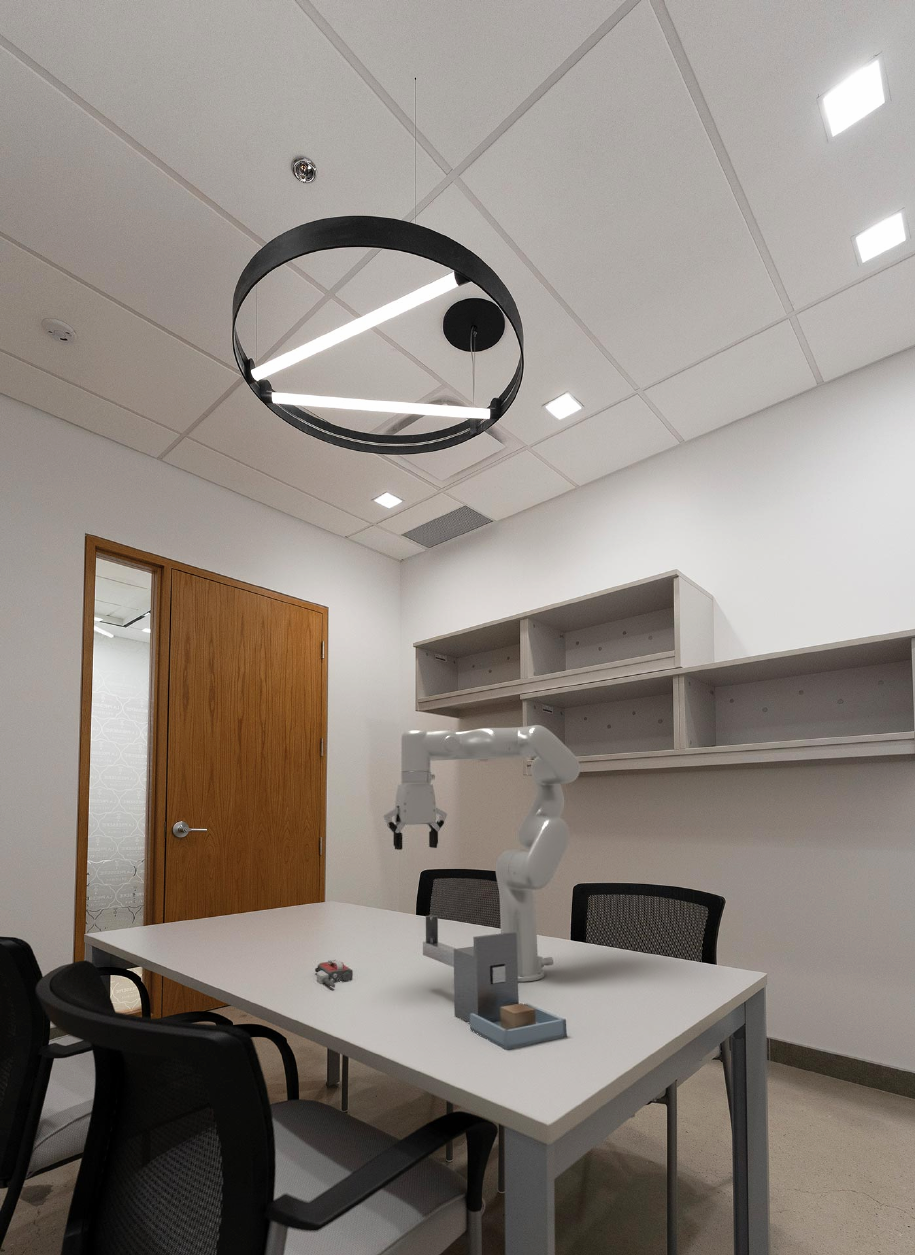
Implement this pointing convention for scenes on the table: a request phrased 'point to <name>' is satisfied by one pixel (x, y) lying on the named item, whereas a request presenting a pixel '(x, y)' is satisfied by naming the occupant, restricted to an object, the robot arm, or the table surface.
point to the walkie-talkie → (333, 972)
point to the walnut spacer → (517, 1016)
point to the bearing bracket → (485, 977)
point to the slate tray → (521, 1030)
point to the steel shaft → (450, 950)
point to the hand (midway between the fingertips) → (416, 848)
